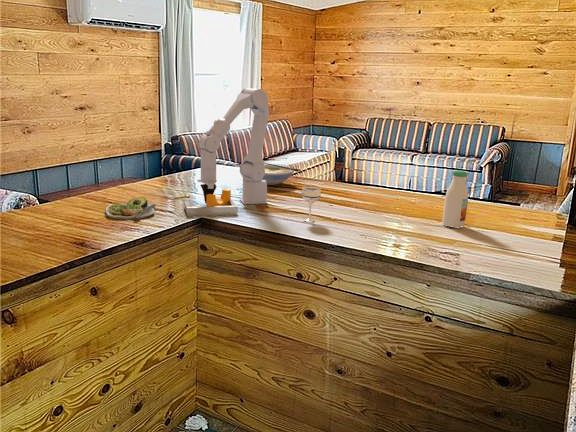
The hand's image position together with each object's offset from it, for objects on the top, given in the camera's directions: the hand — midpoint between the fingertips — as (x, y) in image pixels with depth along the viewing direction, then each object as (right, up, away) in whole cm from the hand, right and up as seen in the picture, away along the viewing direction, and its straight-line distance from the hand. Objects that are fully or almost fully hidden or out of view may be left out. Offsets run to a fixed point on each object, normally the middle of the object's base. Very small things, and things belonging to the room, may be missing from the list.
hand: (208, 203), depth 198 cm
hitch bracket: (+1, -3, -4) cm, 6 cm away
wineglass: (+38, -7, -11) cm, 40 cm away
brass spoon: (-13, +3, +13) cm, 19 cm away
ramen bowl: (+21, +10, +45) cm, 51 cm away
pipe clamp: (+3, -2, 0) cm, 4 cm away
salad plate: (-26, -4, -11) cm, 28 cm away
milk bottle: (+89, -8, -10) cm, 90 cm away
